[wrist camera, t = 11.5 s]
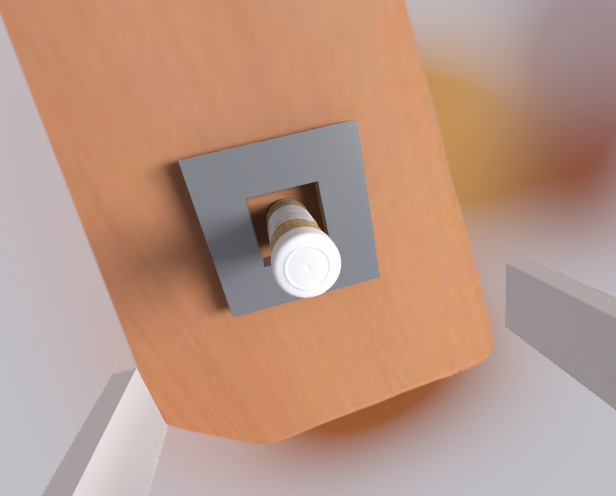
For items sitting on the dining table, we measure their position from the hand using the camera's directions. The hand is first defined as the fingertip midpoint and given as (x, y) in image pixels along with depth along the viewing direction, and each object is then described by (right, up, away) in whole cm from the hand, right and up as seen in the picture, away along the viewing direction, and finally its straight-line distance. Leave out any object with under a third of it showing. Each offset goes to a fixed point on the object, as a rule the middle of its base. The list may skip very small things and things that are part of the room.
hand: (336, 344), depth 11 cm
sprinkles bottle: (-3, +6, +22) cm, 23 cm away
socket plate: (-3, +6, +22) cm, 23 cm away
